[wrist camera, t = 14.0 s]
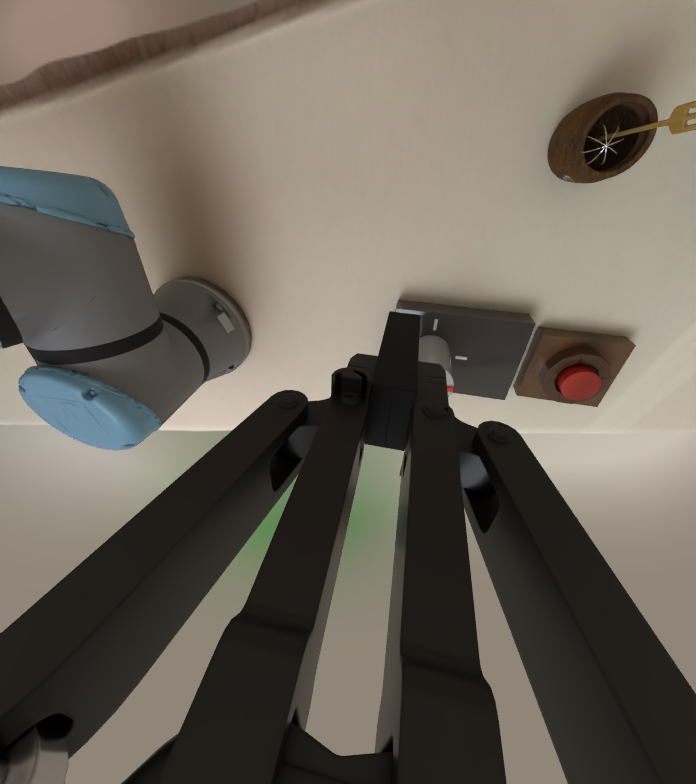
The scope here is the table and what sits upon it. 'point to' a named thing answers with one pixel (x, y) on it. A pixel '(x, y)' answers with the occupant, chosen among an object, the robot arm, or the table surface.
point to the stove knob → (437, 356)
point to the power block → (570, 362)
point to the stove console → (476, 344)
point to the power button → (578, 382)
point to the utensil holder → (609, 136)
